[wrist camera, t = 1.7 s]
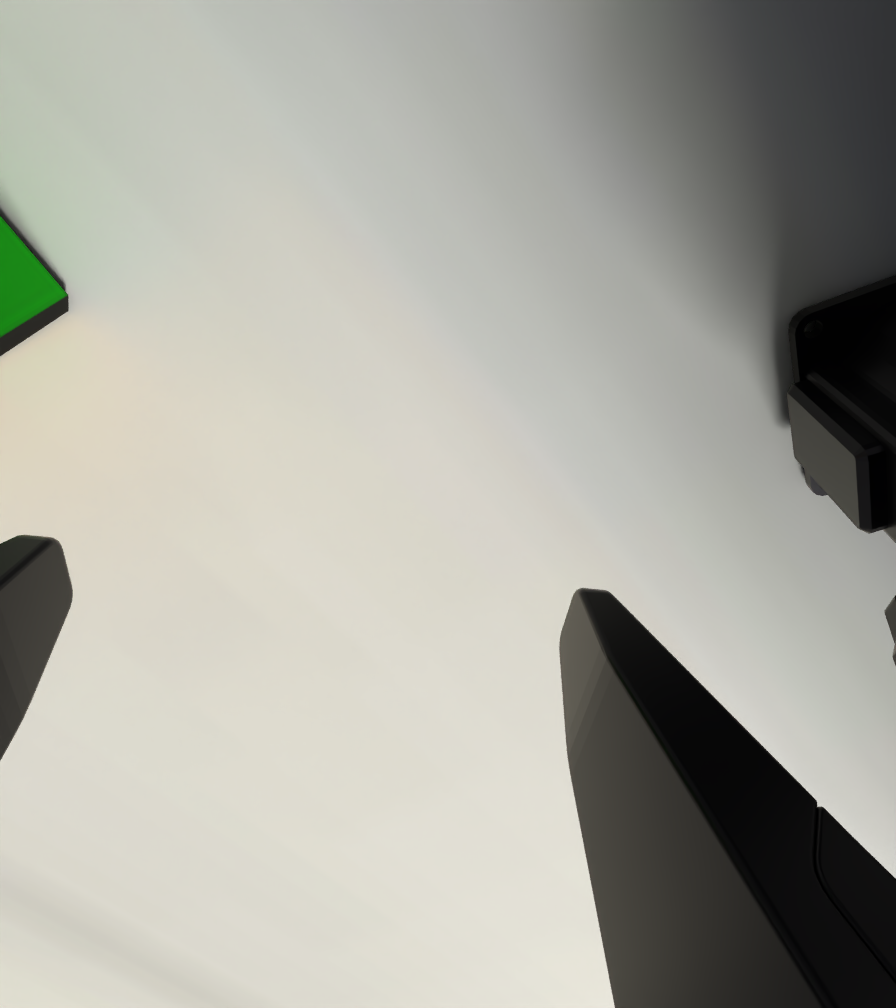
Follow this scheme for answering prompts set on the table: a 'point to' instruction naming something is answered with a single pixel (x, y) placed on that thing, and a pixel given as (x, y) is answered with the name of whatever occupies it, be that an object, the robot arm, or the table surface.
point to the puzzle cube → (24, 292)
